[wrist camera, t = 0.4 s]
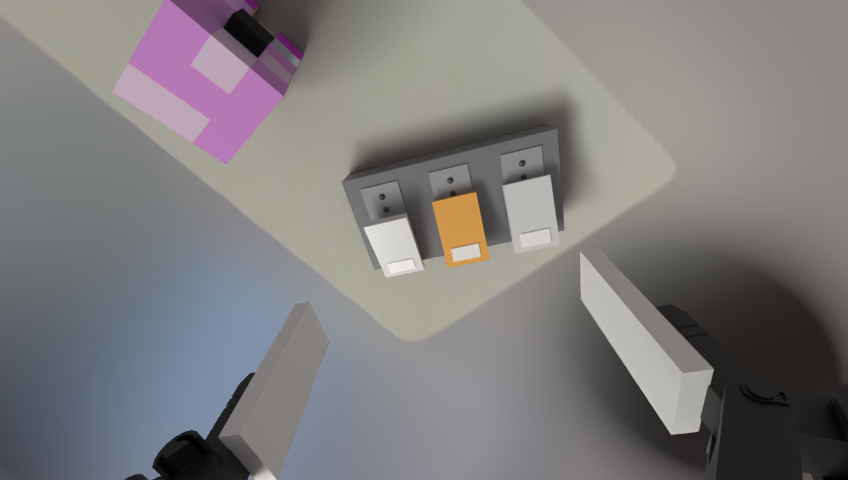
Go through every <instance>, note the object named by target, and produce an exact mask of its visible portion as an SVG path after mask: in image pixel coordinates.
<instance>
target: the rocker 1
mask: <svg viewBox="0 0 848 480" xmlns="http://www.w3.org/2000/svg"><path fill="white" fill-rule="evenodd" d="M363 228H364V230H365V232H366V234H367V237H368V239H369V241H370V243H371V245H372V248H373V250H374V252H375V254H376V257H377V259H378V261H379V263H380V265H381V268H382V270H383V272H384V274H385V277H391V276H396V275H401V274H406V273H411V272H416V271H421V270H424V263H423V260H422V257H421V254H420V251H419V248H418V245H417V242H416V239H415V236H414V233H413V230H412V227H411V224H410V221H409V218H408V215H407V213H404V214H399V215H395V216H391V217H386V218H382V219H378V220H373V221H369V222H364V227H363Z"/></svg>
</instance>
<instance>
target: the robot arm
mask: <svg viewBox="0 0 848 480" xmlns="http://www.w3.org/2000/svg"><path fill="white" fill-rule="evenodd" d="M580 264H581V265H580V266H581V300H582V301H583V303H584V304H585V306H586V307H587V309H588V310H589V312H590V313H591V315H592V316H593V318H594V319H595V321H596V322H597V324H598V325H599V327H600V328H601V330H602V331H603V333H604V334H605V336H606V337H607V339H608V340H609V342H610V343H611V345H612V346H613V348H614V349H615V350H616V352H617V354H618V355H619V357H620V358H621V360H622V361H623V363H624V364H625V366H626V367H627V369H628V370H629V372H630V373H631V375H632V376H633V378H634V379H635V381H636V382H637V384H638V385H639V387H640V388H641V390H642V391H643V393H644V394H645V396H646V397H647V399H648V400H649V402H650V403H651V405H652V406H653V407H654V409H655V411H656V412H657V414H658V415H659V417H660V418H661V420H662V421H663V423H664V424H665V426H666V427H667V429H668V430H669V432H670V433H671V435H672V434H680V433H689V432H698V431H699V427H700V422H701V419H702V420H703V422H704V423H705V424H706V426H707V427H708V428H709V430H710V431H711V432H712V433H711V437H710V440H709V444H708V448H707V451H706V453H708V460H707V467H706V475H705V480H802V472H805V473H811V475H812V477H813V479H814V480H848V384H844V385H840V386H838V388H837V389H836V390H835V392H834V394H833V395H826V394H818V393H809V392H801V391H794V390H789V389H786V388H785V387H784V386H782V385H781V384H779V383H777V382H776V381H775V380H773V379H770V378H768V377H765V376H763V375H760V374H755V373H751V372H750V371H748V370H747V369H746V368H745V367H744V366H743V365H742V364H741V363H740V362H739V361H737V359H735V358H734V357H733V356H732V355H731V354H730V353H729V352H728V351H727V350H726V349H725V348H724V347H722V345H721V344H719V343H718V342H717V341H716V340H715V339H714V338H713V337H712V336H711V335H710V336H709V334H708V332H707V331H706V330H704V329H703V328H702V327H701V326H699V324H698V323H697V322H696V321H695V320H694V319H693V318H692V317H691V316H689V315H688V314H687V313H686V312H684V311H682V310H680V309H678V308H676V307H674V306H673V305H665V306H658V307H654V306H653V305H652V304H651V303H650V302H649V301H648V300H647V299H646V298H645V297H644V296H643V295H642V293H641V292H640V291H639V290H638V289H637V288H636V287H635V286H634V285H633V284H632V283H631V282H630V281H629V280H628V279H627V278H626V277H625V276H624V275H623V274H622V273H621V271H620V270H619V269H618V268H617V267H616V266H615V265H614V264H613V263H612V262H611V261H610V260H609V259H608V258H607V257H606V256H605V255H604V254H603V253H602V252H601V251H600V250H599V249H598V248H594V249H590V250H584V251H580ZM328 344H329V340H328V338H327V336H326V334H325V332H324V330H323V328H322V326H321V324H320V322H319V320H318V318H317V316H316V314H315V312H314V310H313V308H312V306H311V304H310V302H305V303H300V304H295V305H294V307H293V309H292V311H291V313H290V314H289V316H288V318H287V319H286V321H285V323H284V325H283V326H282V328H281V330H280V331H279V333H278V335H277V336H276V338H275V340H274V342H273V343H272V345H271V347H270V348H269V350H268V352H267V354H266V355H265V357H264V359H263V361H262V362H261V364H260V366H259V367H258V369H257V371H256V372H255V373H250V374H249V375H248V376H247V377H246V378H245V379H244V380H243V381H242V382H241V383H240V384H239V385H238V387H237V389H236V391H235V392H234V394H233V395H232V399H230V400H229V402H228V404H227V405H226V409H224V410H223V412H222V413H221V415H220V417H219V418H218V420H217V421H216V423H215V425H214V427H213V428H212V430H211V431H210V433H209V435H208V436H207V438H206V439H205V440H204V439H203V438H202V437H201V436H200V434H199V433H198V432H197V431H193V430H190V431H186V432H184V433H181V434H180V435H178V436H176V437H175V438H173V439H172V440H171V441H170V442H168V443H167V444H166V445H165V446H164V447H163V448H162V449H161V450H160V452H159V453H158V455H157V456H156V458H155V460H154V463H153V466H152V467H153V468H154V469H155V470H156V471H157V472H158V473H159V474H160V475H161V476H160V477H157V478H155V479H153V480H247V479H248V477H249V475H251V476H252V477H253V478H254V479H255V480H278V478H279V475H280V472H281V469H282V467H283V464H284V461H285V459H286V456H287V453H288V451H289V448H290V445H291V443H292V440H293V437H294V435H295V432H296V429H297V427H298V424H299V421H300V419H301V416H302V413H303V410H304V408H305V405H306V402H307V400H308V397H309V394H310V392H311V389H312V386H313V383H314V381H315V378H316V376H317V373H318V370H319V368H320V365H321V362H322V360H323V357H324V354H325V352H326V349H327V346H328ZM125 480H148V479H147V478H146V477H145V476H143V475H142V474H136V475H133V476H131V477H128V478H127V479H125Z"/></svg>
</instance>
